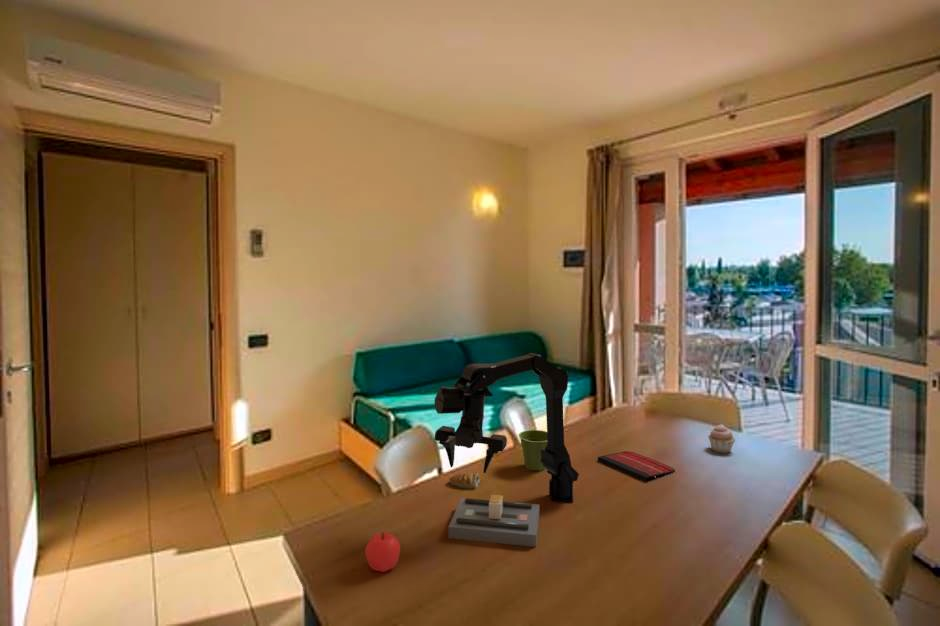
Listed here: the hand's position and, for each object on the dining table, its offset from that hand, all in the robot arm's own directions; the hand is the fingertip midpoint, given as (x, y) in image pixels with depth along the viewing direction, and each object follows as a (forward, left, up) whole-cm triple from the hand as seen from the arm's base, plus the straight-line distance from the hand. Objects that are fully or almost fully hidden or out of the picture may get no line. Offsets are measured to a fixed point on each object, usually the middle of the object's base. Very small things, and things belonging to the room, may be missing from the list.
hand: (468, 469), depth 130 cm
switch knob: (-8, +1, -11) cm, 13 cm away
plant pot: (-16, -40, -15) cm, 45 cm away
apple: (+15, +23, -15) cm, 31 cm away
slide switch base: (-8, +1, -14) cm, 16 cm away
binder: (-50, -47, -15) cm, 70 cm away
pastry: (+5, -22, -15) cm, 27 cm away
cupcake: (-83, -68, -15) cm, 108 cm away
